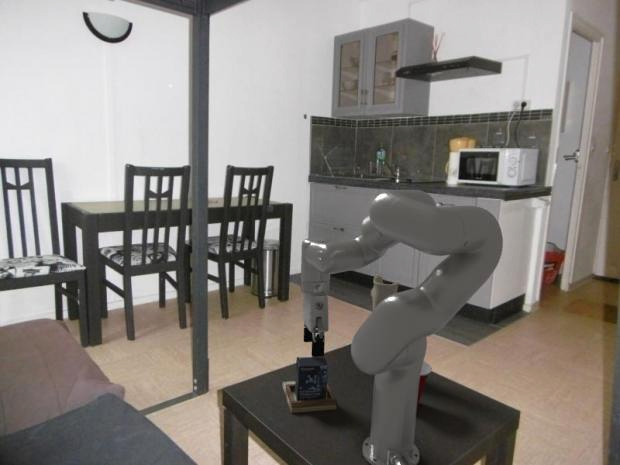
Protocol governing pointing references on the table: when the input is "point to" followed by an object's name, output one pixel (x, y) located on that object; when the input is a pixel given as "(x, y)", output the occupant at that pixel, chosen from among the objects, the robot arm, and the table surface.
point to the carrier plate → (307, 404)
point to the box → (311, 378)
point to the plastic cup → (423, 378)
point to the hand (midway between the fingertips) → (313, 348)
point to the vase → (382, 290)
